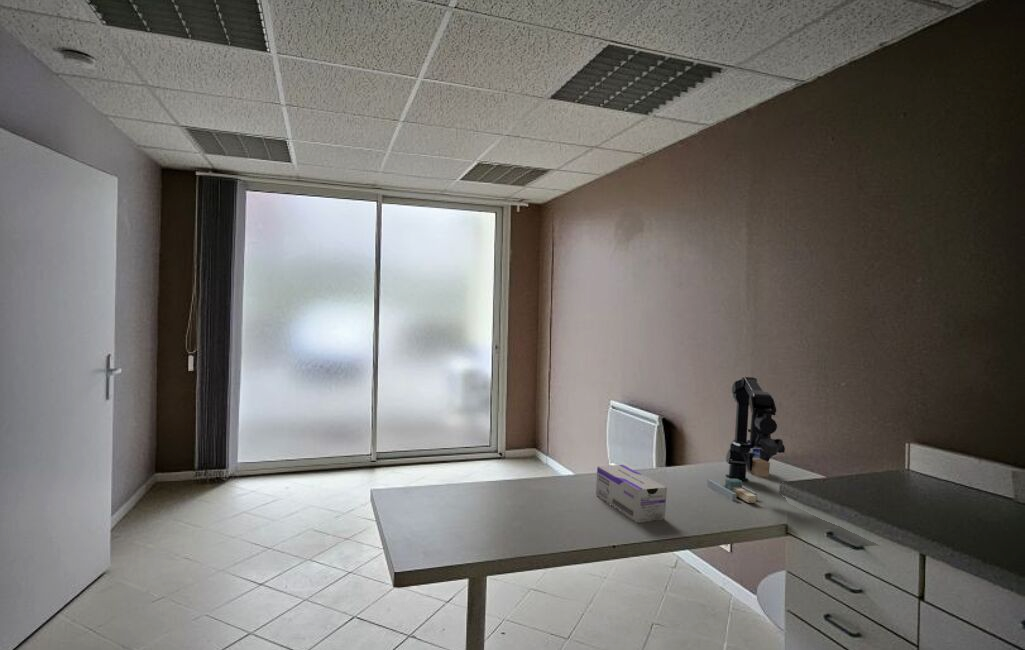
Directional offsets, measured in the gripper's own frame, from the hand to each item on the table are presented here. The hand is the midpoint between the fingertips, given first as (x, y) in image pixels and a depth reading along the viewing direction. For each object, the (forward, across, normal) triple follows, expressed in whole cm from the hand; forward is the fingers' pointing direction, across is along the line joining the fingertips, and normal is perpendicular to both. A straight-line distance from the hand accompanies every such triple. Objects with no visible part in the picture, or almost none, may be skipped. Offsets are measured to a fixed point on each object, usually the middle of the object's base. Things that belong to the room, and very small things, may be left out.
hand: (756, 470), depth 194 cm
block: (+1, 0, -1) cm, 1 cm away
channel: (+11, -4, +8) cm, 14 cm away
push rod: (+10, -4, +2) cm, 11 cm away
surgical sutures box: (+11, -51, -2) cm, 52 cm away
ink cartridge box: (+11, +24, +32) cm, 41 cm away
